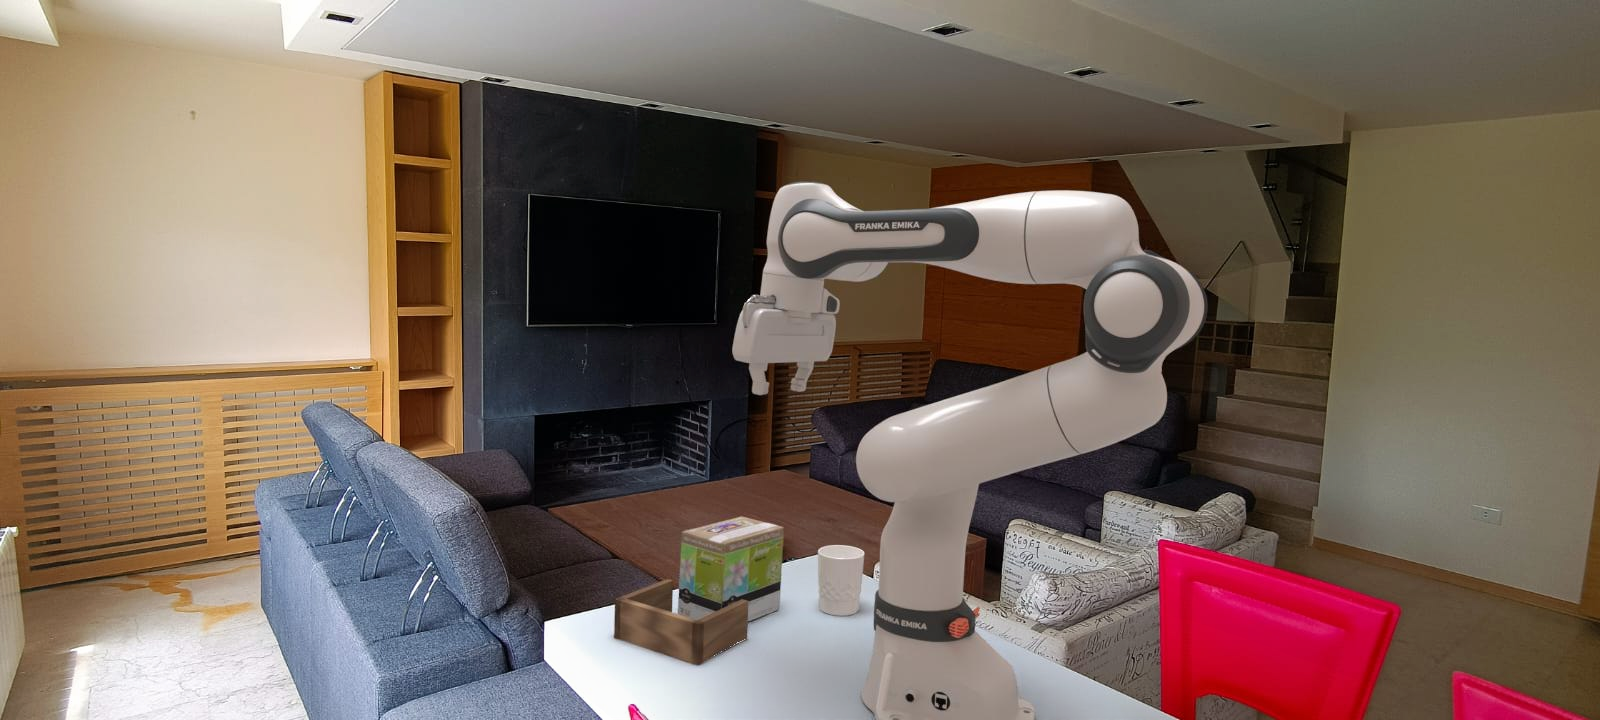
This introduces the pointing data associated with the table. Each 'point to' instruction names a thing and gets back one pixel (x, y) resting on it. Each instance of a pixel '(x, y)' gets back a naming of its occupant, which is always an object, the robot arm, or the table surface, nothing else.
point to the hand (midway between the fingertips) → (779, 392)
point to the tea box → (730, 567)
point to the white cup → (840, 579)
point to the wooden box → (677, 625)
